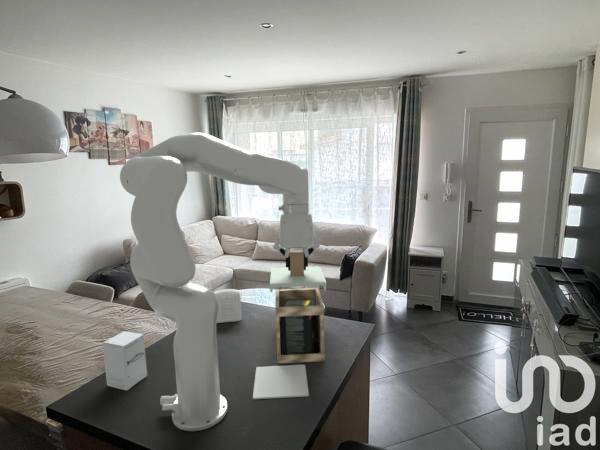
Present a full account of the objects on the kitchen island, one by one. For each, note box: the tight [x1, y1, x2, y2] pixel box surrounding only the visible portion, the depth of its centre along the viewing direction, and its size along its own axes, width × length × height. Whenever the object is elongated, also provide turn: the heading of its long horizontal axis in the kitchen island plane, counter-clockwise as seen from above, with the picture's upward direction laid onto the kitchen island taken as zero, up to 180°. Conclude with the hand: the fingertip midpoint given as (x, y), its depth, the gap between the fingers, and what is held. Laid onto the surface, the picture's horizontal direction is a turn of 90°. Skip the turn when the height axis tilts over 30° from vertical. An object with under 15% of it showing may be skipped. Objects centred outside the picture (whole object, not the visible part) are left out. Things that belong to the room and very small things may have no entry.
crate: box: [274, 288, 326, 364], centre depth 112 cm, size 14×16×17 cm
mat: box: [252, 364, 310, 400], centre depth 96 cm, size 14×14×1 cm
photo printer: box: [213, 288, 242, 324], centre depth 135 cm, size 10×4×12 cm, turn 102°
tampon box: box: [281, 299, 317, 355], centre depth 112 cm, size 11×9×15 cm
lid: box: [269, 250, 327, 293], centre depth 109 cm, size 16×17×10 cm
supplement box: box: [102, 331, 148, 391], centre depth 97 cm, size 7×7×13 cm
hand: (296, 268), depth 109 cm, fingers closed on lid, 4 cm apart
